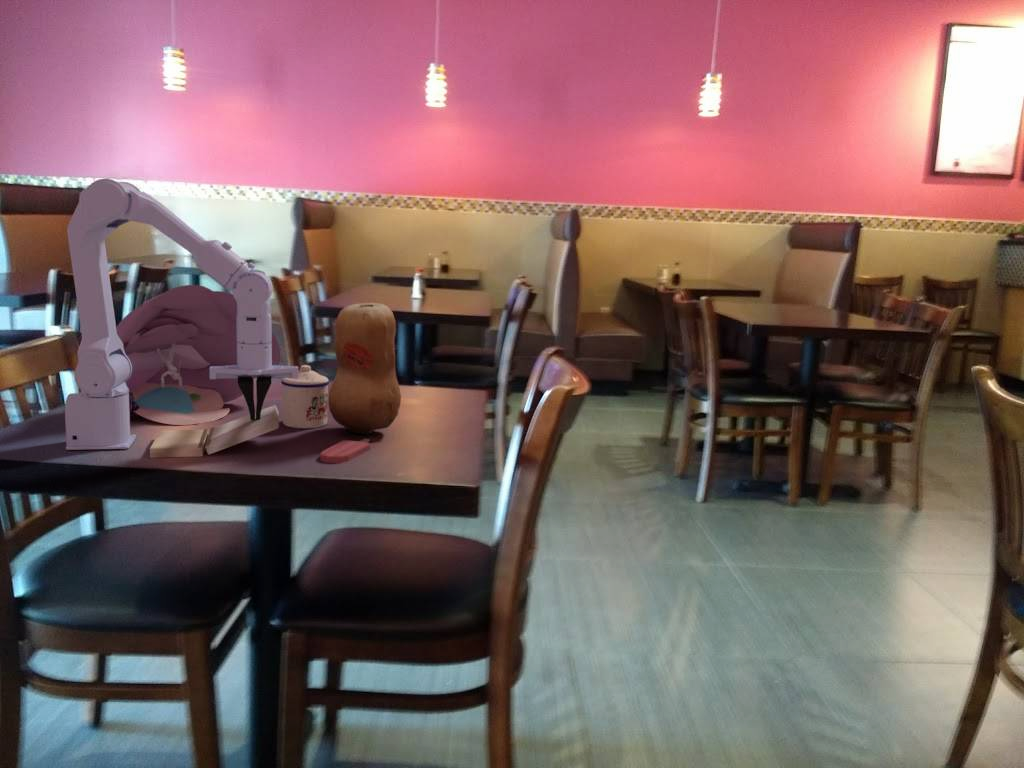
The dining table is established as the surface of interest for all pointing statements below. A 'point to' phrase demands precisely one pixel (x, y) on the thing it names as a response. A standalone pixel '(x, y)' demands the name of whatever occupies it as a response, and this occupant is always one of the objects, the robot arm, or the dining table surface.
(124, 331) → the mauve lumpy shape
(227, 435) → the beige flat square block
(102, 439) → the robot arm
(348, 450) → the popsicle
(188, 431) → the laid board
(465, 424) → the dining table surface
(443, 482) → the dining table surface
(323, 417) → the teacup with lid
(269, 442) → the dining table surface
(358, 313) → the butternut squash
